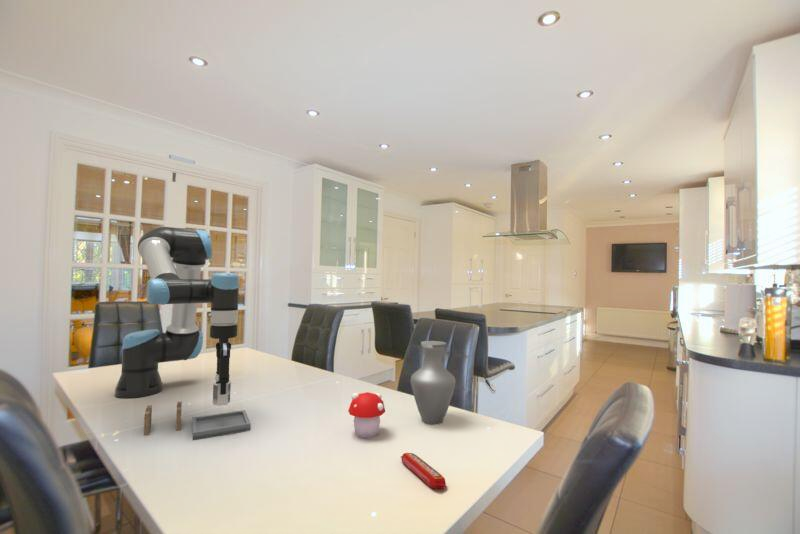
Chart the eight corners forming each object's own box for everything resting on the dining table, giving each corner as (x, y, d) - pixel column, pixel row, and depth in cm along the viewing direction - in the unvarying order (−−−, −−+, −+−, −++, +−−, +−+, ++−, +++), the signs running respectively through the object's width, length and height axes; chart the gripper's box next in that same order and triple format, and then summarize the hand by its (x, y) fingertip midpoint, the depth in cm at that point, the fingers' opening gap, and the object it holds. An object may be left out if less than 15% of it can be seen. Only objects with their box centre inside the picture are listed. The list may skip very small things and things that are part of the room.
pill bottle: (223, 406, 111) (224, 377, 112) (209, 405, 112) (210, 376, 113) (233, 401, 116) (234, 373, 116) (219, 400, 117) (220, 372, 117)
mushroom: (390, 429, 114) (391, 389, 115) (376, 444, 104) (377, 400, 105) (358, 424, 118) (359, 385, 118) (341, 438, 108) (342, 395, 108)
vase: (460, 417, 126) (461, 341, 126) (447, 433, 113) (448, 348, 113) (419, 410, 132) (420, 337, 133) (402, 424, 119) (404, 343, 120)
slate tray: (192, 424, 116) (192, 417, 116) (244, 416, 123) (245, 409, 123) (192, 440, 105) (192, 432, 105) (250, 430, 112) (250, 423, 112)
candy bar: (448, 490, 82) (449, 476, 82) (434, 495, 81) (435, 480, 81) (411, 459, 96) (411, 447, 96) (398, 462, 95) (398, 450, 95)
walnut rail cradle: (146, 425, 114) (147, 405, 114) (181, 420, 119) (181, 401, 119) (143, 435, 107) (144, 414, 107) (180, 429, 112) (181, 409, 112)
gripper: (208, 321, 121) (206, 395, 120) (211, 328, 105) (209, 413, 105) (234, 320, 125) (232, 392, 124) (240, 326, 109) (238, 409, 108)
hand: (221, 402), depth 114 cm, fingers closed on pill bottle, 5 cm apart
